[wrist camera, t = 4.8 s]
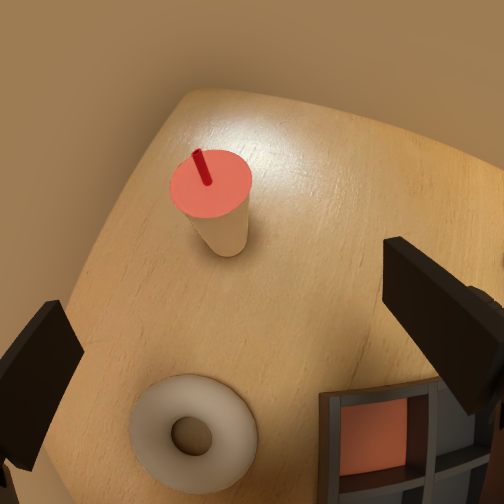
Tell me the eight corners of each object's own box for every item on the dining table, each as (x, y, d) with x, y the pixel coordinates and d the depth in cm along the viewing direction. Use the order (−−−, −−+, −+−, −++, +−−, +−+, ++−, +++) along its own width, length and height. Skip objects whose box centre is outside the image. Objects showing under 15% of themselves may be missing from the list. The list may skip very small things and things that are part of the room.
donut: (275, 469, 20) (235, 358, 24) (276, 484, 17) (229, 357, 21) (162, 493, 20) (124, 388, 23) (148, 507, 16) (105, 390, 20)
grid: (313, 549, 17) (320, 575, 12) (318, 392, 23) (329, 396, 18) (467, 510, 16) (491, 523, 12) (477, 367, 22) (506, 363, 17)
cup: (186, 238, 28) (139, 153, 17) (231, 202, 29) (209, 106, 18) (224, 280, 27) (190, 208, 15) (271, 240, 28) (268, 149, 17)
